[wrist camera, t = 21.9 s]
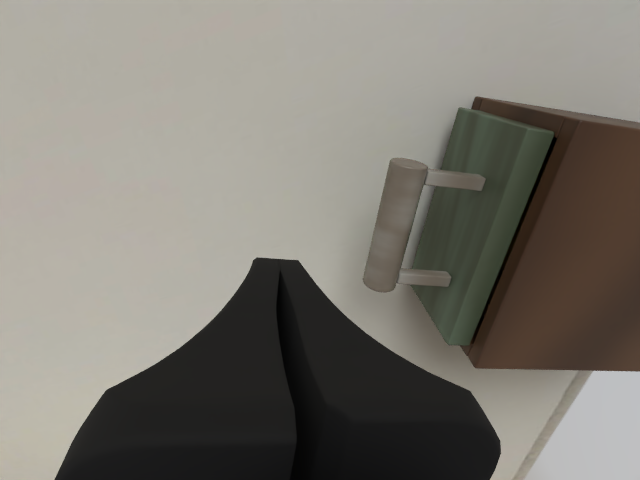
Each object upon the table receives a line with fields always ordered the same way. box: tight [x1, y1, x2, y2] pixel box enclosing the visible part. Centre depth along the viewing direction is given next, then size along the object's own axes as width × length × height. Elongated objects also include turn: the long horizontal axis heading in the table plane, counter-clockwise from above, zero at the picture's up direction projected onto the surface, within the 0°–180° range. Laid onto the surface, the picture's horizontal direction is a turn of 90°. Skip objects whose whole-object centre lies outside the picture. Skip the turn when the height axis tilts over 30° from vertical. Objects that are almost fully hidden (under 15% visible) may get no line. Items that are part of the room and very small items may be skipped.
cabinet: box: [460, 97, 640, 371], centre depth 20 cm, size 14×12×8 cm
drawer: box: [363, 108, 557, 346], centre depth 20 cm, size 17×10×6 cm, turn 81°
